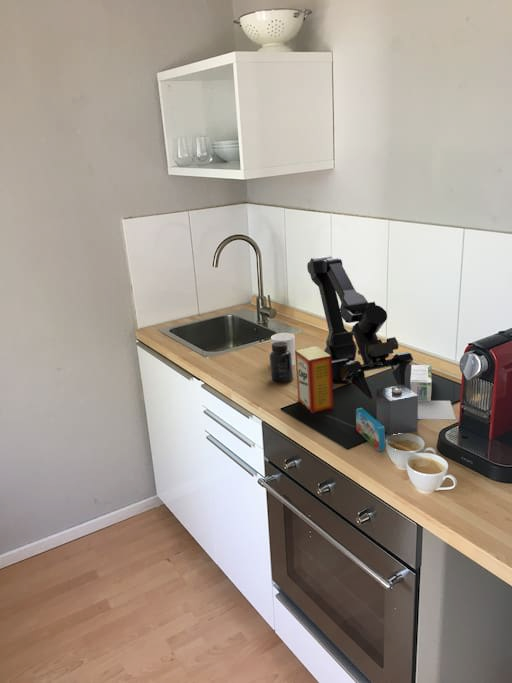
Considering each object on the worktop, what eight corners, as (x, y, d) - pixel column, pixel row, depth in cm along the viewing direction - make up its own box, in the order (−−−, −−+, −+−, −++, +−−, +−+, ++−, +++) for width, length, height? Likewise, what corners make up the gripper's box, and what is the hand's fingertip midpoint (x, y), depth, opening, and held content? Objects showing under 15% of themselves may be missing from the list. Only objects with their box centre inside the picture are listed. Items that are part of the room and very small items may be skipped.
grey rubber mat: (411, 420, 149) (411, 418, 148) (408, 402, 159) (408, 400, 159) (455, 421, 146) (455, 419, 146) (450, 402, 157) (450, 400, 156)
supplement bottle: (296, 376, 183) (294, 341, 179) (288, 385, 177) (285, 348, 173) (276, 374, 186) (273, 339, 182) (268, 383, 180) (265, 346, 176)
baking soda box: (298, 400, 166) (295, 348, 161) (318, 396, 168) (316, 344, 162) (311, 413, 157) (308, 359, 152) (333, 408, 159) (331, 354, 154)
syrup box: (430, 383, 170) (432, 402, 157) (410, 382, 171) (409, 401, 158) (431, 364, 168) (432, 382, 155) (410, 364, 170) (409, 381, 156)
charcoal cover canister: (376, 425, 148) (376, 385, 144) (402, 420, 149) (403, 380, 146) (390, 438, 141) (390, 397, 137) (417, 432, 143) (418, 391, 139)
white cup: (269, 368, 192) (267, 339, 188) (277, 359, 199) (275, 332, 195) (291, 369, 189) (290, 341, 185) (299, 361, 196) (297, 333, 192)
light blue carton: (385, 450, 136) (384, 427, 134) (379, 452, 135) (379, 428, 133) (361, 429, 147) (361, 407, 145) (356, 430, 146) (355, 408, 144)
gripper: (343, 333, 144) (363, 390, 138) (410, 322, 149) (432, 376, 142) (332, 353, 154) (350, 406, 148) (395, 341, 159) (415, 393, 152)
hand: (387, 395), depth 147 cm, fingers open, 9 cm apart
